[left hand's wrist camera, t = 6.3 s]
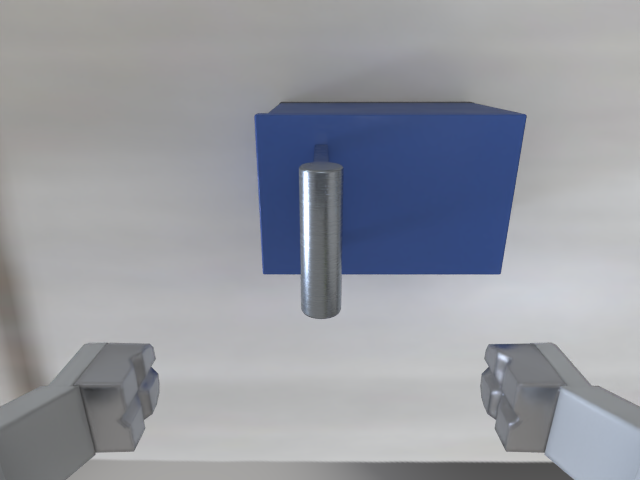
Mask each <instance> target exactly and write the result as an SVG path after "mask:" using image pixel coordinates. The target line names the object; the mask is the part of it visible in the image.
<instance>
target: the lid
mask: <svg viewBox="0 0 640 480" xmlns="http://www.w3.org/2000/svg"><path fill="white" fill-rule="evenodd" d="M525 122H526V115H525V114H521V113H258V114H256V115H255V135H256V153H257V172H258V191H259V209H260V228H261V247H262V265H263V274H301V309H302V311H303V313H304V314H305V315H307V316H309V317H311V318H316V319H327V318H331V317H334V316H336V315H337V314H338V313H339V312H340V310H341V281H342V274H501V268H502V262H503V256H504V250H505V244H506V238H507V232H508V226H509V220H510V214H511V208H512V201H513V195H514V189H515V183H516V177H517V171H518V165H519V159H520V153H521V147H522V141H523V135H524V129H525Z"/></svg>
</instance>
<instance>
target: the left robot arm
mask: <svg viewBox="0 0 640 480" xmlns="http://www.w3.org/2000/svg"><path fill="white" fill-rule="evenodd" d="M155 359H156V358H155V353H154V348H153V346H152V345H151V344H139V343H88V344H84V345H83V346H82V348H81V349H80V350H79V351H78V352H77V353H76V354H75V356H74V357H73V358H72V359H71V360H70V361H69V363H68V364H67V365H66V366H65V367H64V368H63V369H62V371H61V372H60V373H59V374H58V375H57V376H56V377H55V379H54V380H53V381H52V382H51V383H50V384H49V385H48V386H40V387H38V388H36V389H34V390H32V391H30V392H28V393H26V394H24V395H22V396H20V397H18V398H17V399H15V400H13V401H11V402H9V403H7V404H5V405H3V406H1V407H0V480H66V479H67V478H68V477H70V476H71V475H72V474H73V473H74V472H75V471H77V470H78V469H79V468H80V467H81V466H83V465H84V464H85V463H86V462H87V461H88V460H90V459H91V458H92V457H93V456H94V455H95V453H97V452H132V451H134V450H135V448H136V446H137V444H138V442H139V440H140V438H141V436H142V434H143V432H144V430H145V424H144V420H145V419H146V418H147V417H149V416H150V415H152V414H153V412H154V409H155V407H156V405H157V401H158V396H159V376H158V373H157V372H156V371H155V370H154V369H153V368H152V367H151V366H152V364H153V363H154V361H155ZM484 359H485V361H486V363H487V364H488V366H489V367H488V368H487V369H486V370H485V371H484V372H483V373H482V377H481V385H480V387H481V398H482V401H483V405H484V407H485V409H486V412H487V414H488V415H490V416H491V417H493V418H494V419H495V420H496V424H495V430H496V432H497V434H498V436H499V438H500V440H501V442H502V444H503V446H504V448H505V450H506V451H507V452H542V453H545V455H546V456H547V457H548V458H549V459H551V460H552V461H553V462H554V463H555V464H556V465H558V466H559V467H560V468H561V469H562V470H564V471H565V472H566V473H567V474H568V475H569V476H571V477H572V478H573V479H574V480H640V407H639V406H637V405H635V404H633V403H631V402H629V401H627V400H625V399H623V398H621V397H619V396H617V395H616V394H614V393H612V392H610V391H608V390H606V389H604V388H602V387H600V386H592V385H591V384H590V383H589V382H588V381H587V380H586V379H585V377H584V376H583V375H582V374H581V373H580V372H579V371H578V369H577V368H576V367H575V366H574V365H573V364H572V363H571V361H570V360H569V359H568V358H567V357H566V356H565V354H564V353H563V352H562V351H561V350H560V349H559V348H558V346H557V345H555V344H553V343H530V344H489V345H488V347H487V349H486V352H485V358H484Z"/></svg>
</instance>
